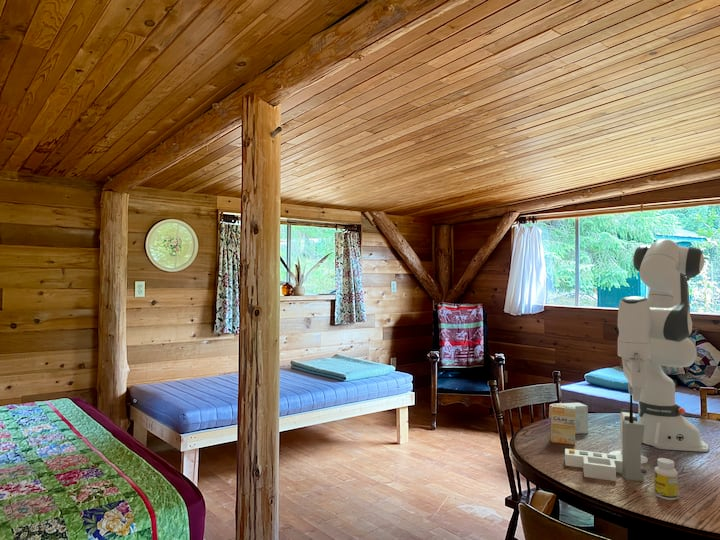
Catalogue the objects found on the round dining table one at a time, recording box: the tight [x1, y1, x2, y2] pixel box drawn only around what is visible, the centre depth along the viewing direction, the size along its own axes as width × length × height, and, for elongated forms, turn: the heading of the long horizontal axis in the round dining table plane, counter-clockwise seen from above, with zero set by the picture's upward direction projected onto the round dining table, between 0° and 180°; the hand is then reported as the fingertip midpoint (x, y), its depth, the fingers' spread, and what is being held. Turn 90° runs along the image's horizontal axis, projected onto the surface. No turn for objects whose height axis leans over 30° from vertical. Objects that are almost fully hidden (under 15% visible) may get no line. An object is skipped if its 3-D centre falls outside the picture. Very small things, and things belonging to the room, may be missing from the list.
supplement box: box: [550, 403, 576, 446], centre depth 184 cm, size 8×5×13 cm, turn 68°
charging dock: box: [564, 448, 647, 482], centre depth 157 cm, size 23×14×4 cm, turn 68°
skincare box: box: [554, 402, 589, 435], centre depth 197 cm, size 10×6×10 cm, turn 98°
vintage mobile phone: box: [621, 394, 645, 482], centre depth 151 cm, size 4×5×25 cm
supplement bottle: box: [654, 457, 679, 501], centre depth 139 cm, size 5×5×10 cm
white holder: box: [608, 408, 649, 465], centre depth 169 cm, size 12×11×15 cm
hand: (634, 397), depth 151 cm, fingers open, 8 cm apart
